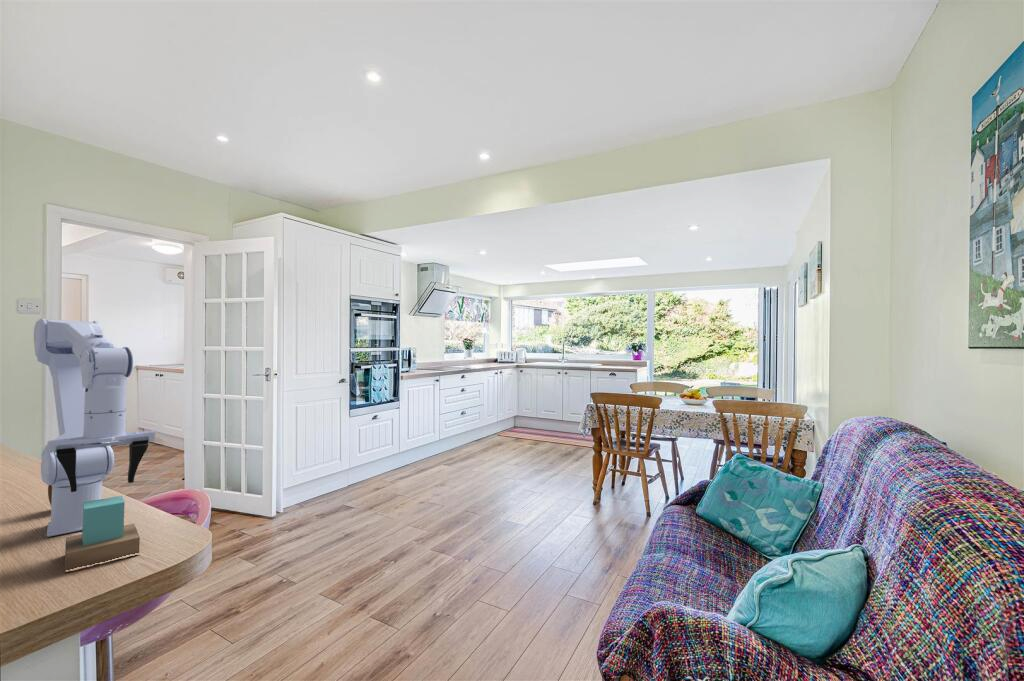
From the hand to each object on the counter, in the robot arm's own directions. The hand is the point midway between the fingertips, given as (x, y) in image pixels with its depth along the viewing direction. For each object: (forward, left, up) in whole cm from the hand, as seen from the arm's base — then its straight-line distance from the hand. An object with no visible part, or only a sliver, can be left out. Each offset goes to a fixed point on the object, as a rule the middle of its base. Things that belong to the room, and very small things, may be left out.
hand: (103, 486), depth 81 cm
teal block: (+6, 0, -7) cm, 10 cm away
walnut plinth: (+7, 0, -10) cm, 12 cm away
